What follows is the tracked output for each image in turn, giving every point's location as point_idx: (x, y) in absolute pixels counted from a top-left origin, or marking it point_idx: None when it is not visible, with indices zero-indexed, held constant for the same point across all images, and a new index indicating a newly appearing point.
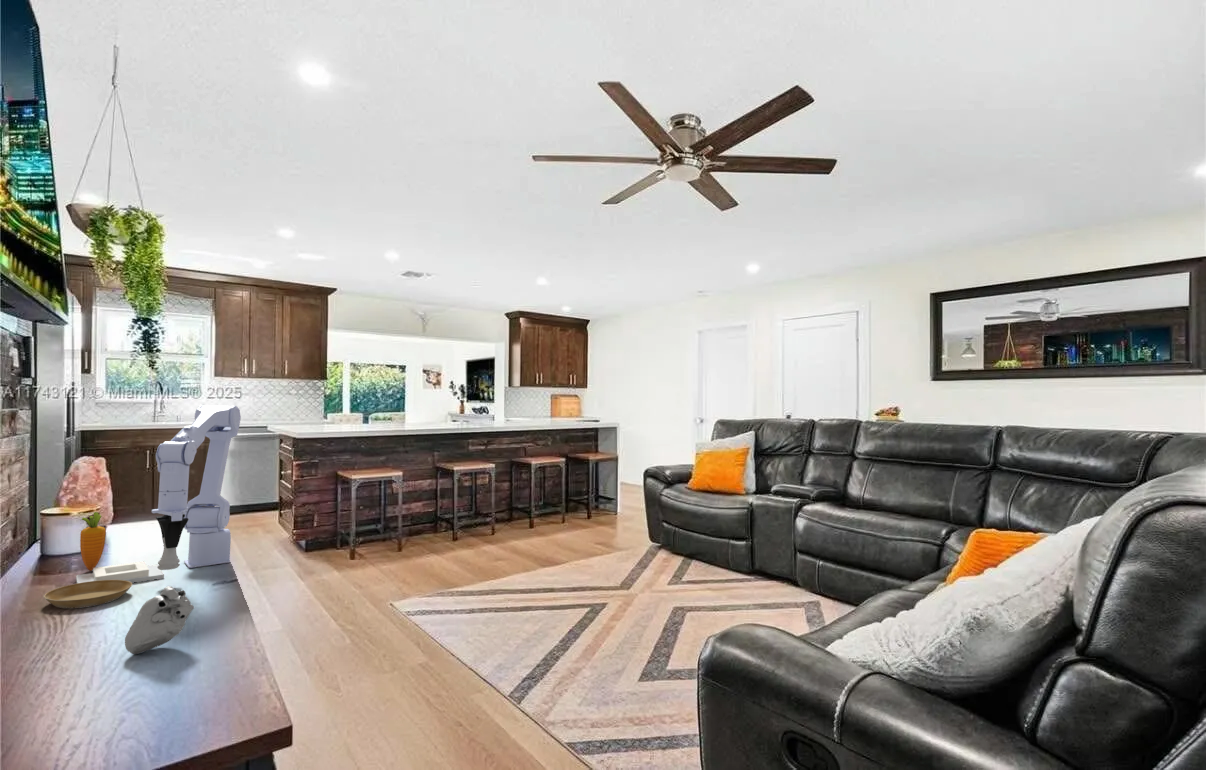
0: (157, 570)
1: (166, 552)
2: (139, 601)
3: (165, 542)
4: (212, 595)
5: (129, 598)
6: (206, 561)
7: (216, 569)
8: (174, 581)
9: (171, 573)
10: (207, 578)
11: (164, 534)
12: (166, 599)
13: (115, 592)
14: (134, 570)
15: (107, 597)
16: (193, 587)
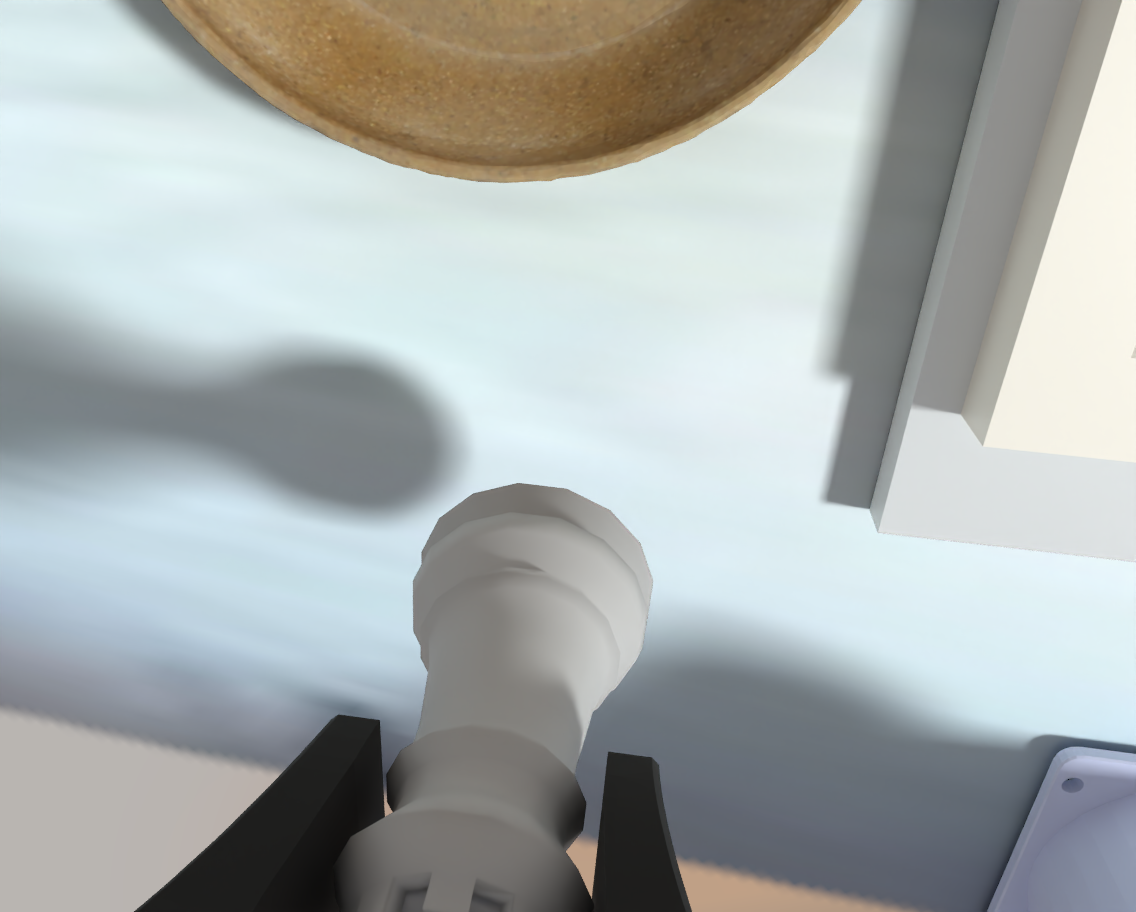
0: (1127, 528)
1: (435, 675)
2: (129, 166)
3: (279, 781)
4: (32, 615)
5: None
6: (1041, 883)
7: (827, 850)
8: (671, 544)
9: (1023, 601)
10: None
11: (144, 909)
12: None
13: (622, 19)
14: (1095, 314)
15: None
16: (348, 591)
